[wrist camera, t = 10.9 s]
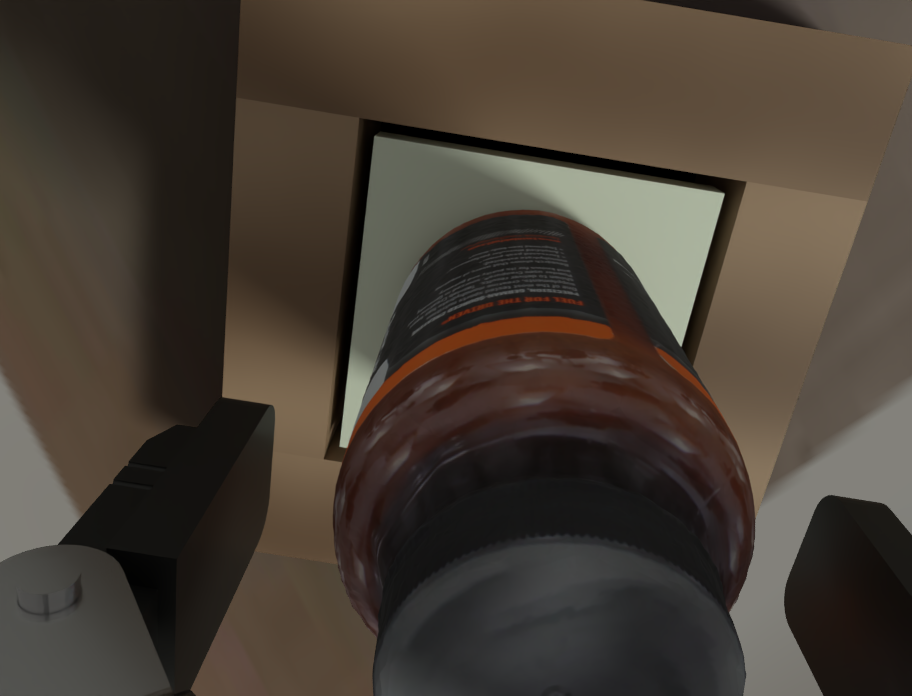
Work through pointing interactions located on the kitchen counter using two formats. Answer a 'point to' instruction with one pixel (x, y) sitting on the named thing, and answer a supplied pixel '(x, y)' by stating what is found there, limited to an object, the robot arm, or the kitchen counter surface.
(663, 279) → the plate
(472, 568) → the supplement bottle
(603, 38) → the wooden tray
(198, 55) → the kitchen counter surface
